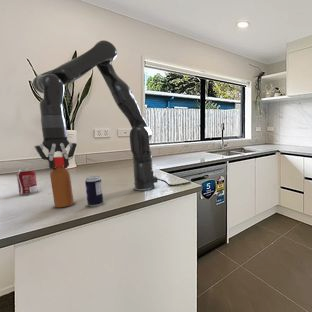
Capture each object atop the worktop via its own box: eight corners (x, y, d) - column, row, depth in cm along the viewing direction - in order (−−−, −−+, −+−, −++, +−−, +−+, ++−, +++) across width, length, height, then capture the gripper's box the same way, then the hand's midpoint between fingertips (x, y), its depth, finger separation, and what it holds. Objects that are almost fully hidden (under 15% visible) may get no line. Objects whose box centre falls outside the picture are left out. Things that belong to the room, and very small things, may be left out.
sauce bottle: (74, 200, 98) (68, 157, 95) (73, 205, 93) (67, 159, 90) (55, 203, 95) (49, 158, 92) (53, 208, 89) (46, 160, 86)
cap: (66, 165, 91) (64, 157, 91) (53, 167, 88) (52, 158, 88) (64, 164, 94) (63, 156, 93) (52, 166, 91) (50, 157, 91)
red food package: (41, 192, 112) (38, 169, 111) (25, 196, 106) (21, 171, 104) (32, 190, 115) (29, 168, 113) (16, 194, 108) (12, 170, 107)
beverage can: (99, 201, 99) (97, 175, 97) (105, 204, 95) (103, 176, 94) (85, 205, 94) (82, 177, 92) (91, 208, 91) (88, 179, 89)
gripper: (71, 126, 97) (76, 165, 99) (28, 126, 85) (34, 170, 88) (78, 126, 92) (82, 166, 95) (32, 127, 81) (39, 172, 84)
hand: (59, 168), depth 91 cm, fingers closed on cap, 3 cm apart
